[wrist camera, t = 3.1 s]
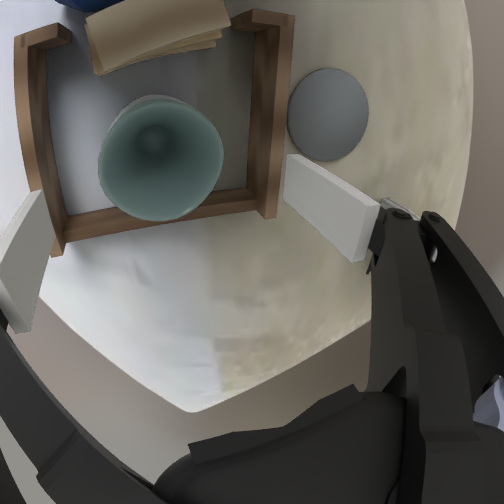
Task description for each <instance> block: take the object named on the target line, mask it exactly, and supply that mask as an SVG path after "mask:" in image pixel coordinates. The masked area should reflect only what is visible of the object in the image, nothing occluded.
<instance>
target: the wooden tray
mask: <svg viewBox="0 0 504 504" xmlns="http://www.w3.org/2000/svg"><path fill="white" fill-rule="evenodd" d="M294 21H295V16H293V15H288V14H283V13H277V12H271V11H265V10H258V9H251V10H249V11H247V12H244V13H242V14H240V15H238V16H236V17H234V18H232V20H231V30H243V31H253V32H256V34H255V49H254V64H253V80H252V96H251V112H250V130H249V147H248V165H247V184H246V188H237V189H229V190H220V191H212V192H210V194H209V195H208V196H207V197H206V199H205V200H204V201H203V202H202V203H201V204H200V205H199V206H198V207H196V208H195V209H194V210H192V211H191V212H189V213H188V214H186V215H184V216H182V217H179V218H177V219H173V220H169V221H149V220H143V219H140V218H137V217H134V216H131V215H129V214H127V213H126V212H124V211H122V210H121V209H119V208H118V207H112V208H107V209H102V210H97V211H92V212H87V213H82V214H78V215H73V216H67V212H66V209H65V205H64V201H63V196H62V192H61V188H60V183H59V178H58V173H57V168H56V163H55V157H54V151H53V144H52V137H51V130H50V121H49V112H48V100H47V82H46V50H49V49H52V48H56V47H59V46H63V45H67V44H71V33H72V31H70V30H69V29H67V28H66V27H64V26H63V25H61V24H60V23H58V22H57V23H54V24H51V25H47V26H44V27H41V28H38V29H35V30H32V31H29V32H27V33H24V34H21V35H19V36H16V37H14V90H15V104H16V115H17V123H18V131H19V138H20V144H21V150H22V156H23V161H24V166H25V170H26V175H27V179H28V184H29V188H30V192H33V191H36V190H40V189H43V192H44V196H45V200H46V204H47V208H48V212H49V215H50V219H51V222H52V226H53V229H54V232H55V235H56V237H55V240H54V243H53V246H52V249H51V252H50V255H51V258H53V257H58V256H62V255H63V253H64V249H65V245H66V243H68V242H73V241H78V240H83V239H87V238H92V237H97V236H102V235H107V234H113V233H118V232H123V231H128V230H134V229H139V228H145V227H150V226H156V225H162V224H168V223H174V222H180V221H186V220H192V219H198V218H204V217H211V216H218V215H224V214H231V213H238V212H245V211H252V210H257V211H258V212H259V213H260V215H261V216H262V217H263V218H264V219H271V218H276V213H277V204H278V195H279V186H280V177H281V167H282V158H283V148H284V138H285V127H286V117H287V106H288V95H289V84H290V72H291V60H292V48H293V35H294Z"/></svg>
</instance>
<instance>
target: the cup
mask: <svg viewBox="0 0 504 504" xmlns="http://www.w3.org/2000/svg"><path fill="white" fill-rule="evenodd" d="M223 161H224V147H223V144H222V140H221V137H220V135H219V133H218V131H217V129H216V128H215V126H214V125H213V124H212V122H211V121H210V120H209V119H208V118H207V117H206V116H205V115H204V114H203V113H201V112H200V111H199V110H197V109H196V108H195V107H193V106H191V105H189V104H187V103H185V102H183V101H181V100H179V99H177V98H174V97H170V96H166V95H156V94H153V95H147V96H143V97H141V98H138V99H136V100H134V101H132V102H131V103H130V104H128V105H127V106H126V107H125V108H124V109H123V110H122V111H121V112H120V113H119V114H118V115H117V116H116V118H115V119H114V121H113V122H112V124H111V125H110V127H109V129H108V132H107V134H106V136H105V138H104V141H103V143H102V146H101V150H100V154H99V159H98V175H99V180H100V184H101V186H102V188H103V190H104V192H105V194H106V196H107V197H108V198H109V199H110V201H111V202H112V203H113V204H114V205H115V206H117V207H118V208H119V209H121V210H122V211H124V212H126V213H127V214H129V215H131V216H134V217H137V218H140V219H143V220H149V221H169V220H173V219H177V218H179V217H182V216H184V215H186V214H188V213H189V212H191V211H192V210H194V209H195V208H196V207H198V206H199V205H200V204H201V203H202V202H203V201H204V200H205V199H206V197H207V196H208V195H209V194H210V192H211V191H212V189H213V188H214V186H215V184H216V183H217V181H218V178H219V176H220V173H221V171H222V166H223Z"/></svg>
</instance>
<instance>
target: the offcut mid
mask: <svg viewBox="0 0 504 504" xmlns="http://www.w3.org/2000/svg"><path fill="white" fill-rule="evenodd" d="M84 26H85V31H86V34H87V38H88V42H89V46H90V50H91V53H92V57H93V60H94V64H95V67H96V71H97V74H98V76H103V75H106V74H108V73H110V72H113V71H115V70H118V69H120V68H123V67H125V66H128V65H131V64H133V63H136V62H139V61H142V60H145V59H148V58H151V57H154V56H157V55H160V54H163V53H166V52H170V51H173V50H177V49H181V48H184V47H188V46H192V45H196V44H200V43H205V42H209V41H214V40H216V39H219V38H222V33H221V30H219V31H215V32H211V33H208V34H204V35H201V36H197V37H194V38H191V39H188V40H185V41H182V42H179V43H176V44H173V45H170V46H167V47H164V48H162V49H159V50H156V51H154V52H151V53H149V54H146V55H144V56H142V57H139V58H137V59H134V60H132V61H130V62H128V63H126V64H123V65H121V66H119V67H117V68H115V69H113V70H111V71H109V72H108V71H105V70H104V68H103V65H102V63H101V60H100V57H99V55H98V52H97V50H96V47H95V44H94V41H93V39H92V36H91V33H90V30H89V28H88V25H87V24H85V25H84Z"/></svg>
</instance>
